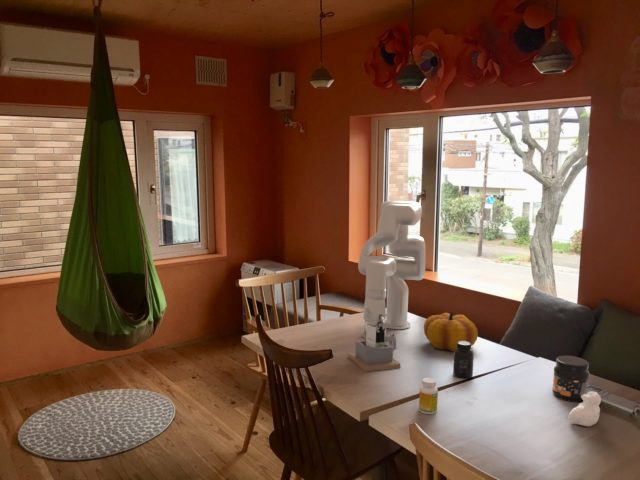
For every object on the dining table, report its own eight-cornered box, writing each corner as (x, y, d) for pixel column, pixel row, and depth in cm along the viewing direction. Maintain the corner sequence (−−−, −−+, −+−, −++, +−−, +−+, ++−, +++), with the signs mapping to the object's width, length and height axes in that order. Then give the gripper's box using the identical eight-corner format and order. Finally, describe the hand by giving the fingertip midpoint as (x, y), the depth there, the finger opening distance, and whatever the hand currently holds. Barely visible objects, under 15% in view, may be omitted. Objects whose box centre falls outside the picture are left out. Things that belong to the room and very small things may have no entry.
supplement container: (544, 391, 183) (547, 357, 181) (568, 387, 187) (571, 353, 185) (570, 405, 173) (573, 368, 171) (594, 399, 177) (598, 364, 175)
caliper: (396, 349, 222) (396, 334, 221) (394, 350, 221) (394, 335, 220) (362, 336, 238) (362, 322, 237) (360, 336, 237) (360, 322, 236)
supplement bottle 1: (433, 416, 164) (434, 385, 163) (416, 411, 167) (417, 381, 165) (439, 409, 169) (440, 379, 167) (422, 405, 171) (424, 375, 170)
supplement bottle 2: (476, 375, 196) (478, 342, 194) (466, 380, 191) (468, 347, 189) (458, 370, 200) (460, 338, 199) (449, 375, 195) (450, 342, 194)
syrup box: (373, 354, 211) (375, 317, 209) (385, 358, 206) (386, 321, 204) (363, 357, 207) (364, 320, 205) (375, 362, 203) (376, 324, 201)
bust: (572, 436, 158) (597, 416, 151) (555, 412, 162) (579, 392, 155) (597, 426, 164) (622, 406, 157) (579, 403, 169) (604, 383, 161)
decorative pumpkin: (487, 349, 224) (489, 313, 221) (449, 359, 211) (451, 321, 209) (449, 335, 240) (451, 302, 238) (412, 344, 228) (413, 309, 226)
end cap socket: (348, 356, 213) (348, 339, 212) (381, 353, 217) (382, 335, 216) (365, 371, 198) (365, 353, 197) (400, 367, 202) (400, 349, 201)
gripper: (357, 288, 210) (356, 332, 213) (376, 299, 194) (374, 346, 197) (375, 287, 213) (374, 330, 215) (395, 298, 197) (393, 344, 199)
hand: (374, 338), depth 206 cm, fingers open, 9 cm apart
